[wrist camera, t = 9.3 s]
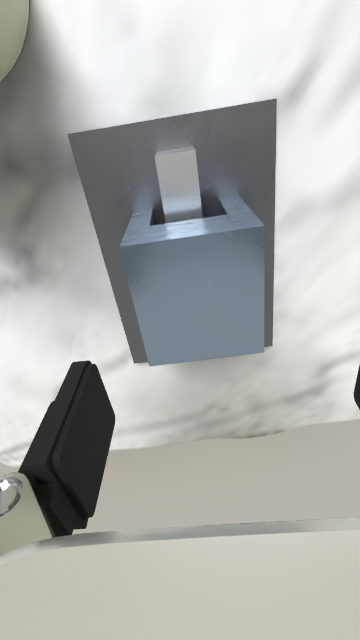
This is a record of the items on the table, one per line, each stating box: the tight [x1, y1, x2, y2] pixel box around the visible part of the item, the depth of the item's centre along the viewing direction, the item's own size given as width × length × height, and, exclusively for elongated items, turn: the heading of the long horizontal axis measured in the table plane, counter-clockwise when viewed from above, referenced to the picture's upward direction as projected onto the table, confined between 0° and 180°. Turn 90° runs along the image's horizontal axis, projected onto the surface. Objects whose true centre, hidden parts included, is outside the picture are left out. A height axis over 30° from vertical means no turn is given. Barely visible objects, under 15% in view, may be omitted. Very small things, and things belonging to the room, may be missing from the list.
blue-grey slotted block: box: [119, 197, 265, 366], centre depth 18 cm, size 6×7×6 cm
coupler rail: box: [68, 99, 277, 363], centre depth 20 cm, size 11×16×3 cm
